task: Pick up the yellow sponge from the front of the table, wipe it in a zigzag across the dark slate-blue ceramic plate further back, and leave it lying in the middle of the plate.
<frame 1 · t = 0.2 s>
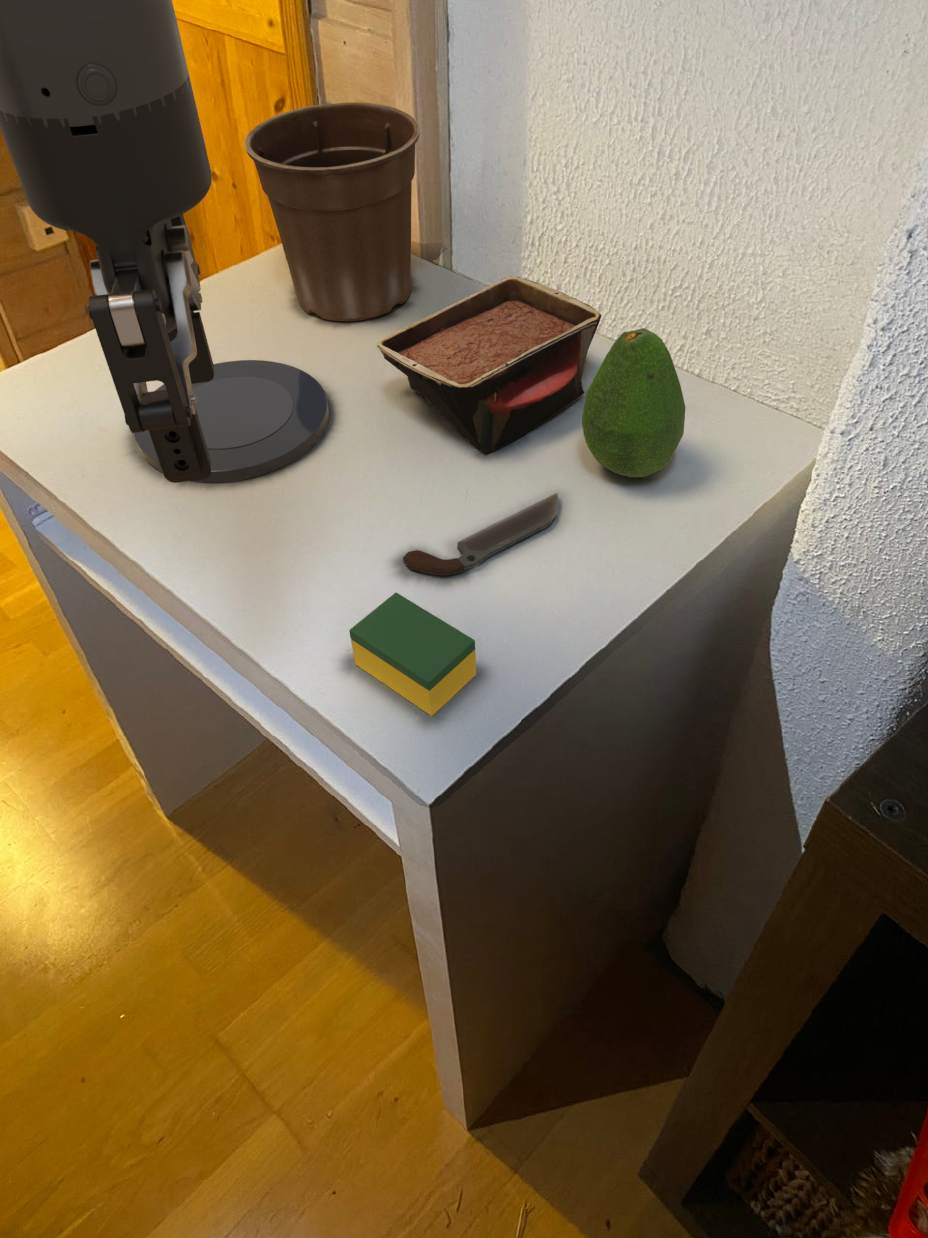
hand: (193, 425, 47), 20 cm above the table, tool pointing down, fingers open, 8 cm apart
baking dish: (493, 401, 84), on the table
plate: (233, 422, 82), on the table
knife: (491, 539, 71), on the table
sponge: (415, 669, 62), on the table
plant pot: (353, 296, 98), on the table
avocado: (626, 469, 76), on the table
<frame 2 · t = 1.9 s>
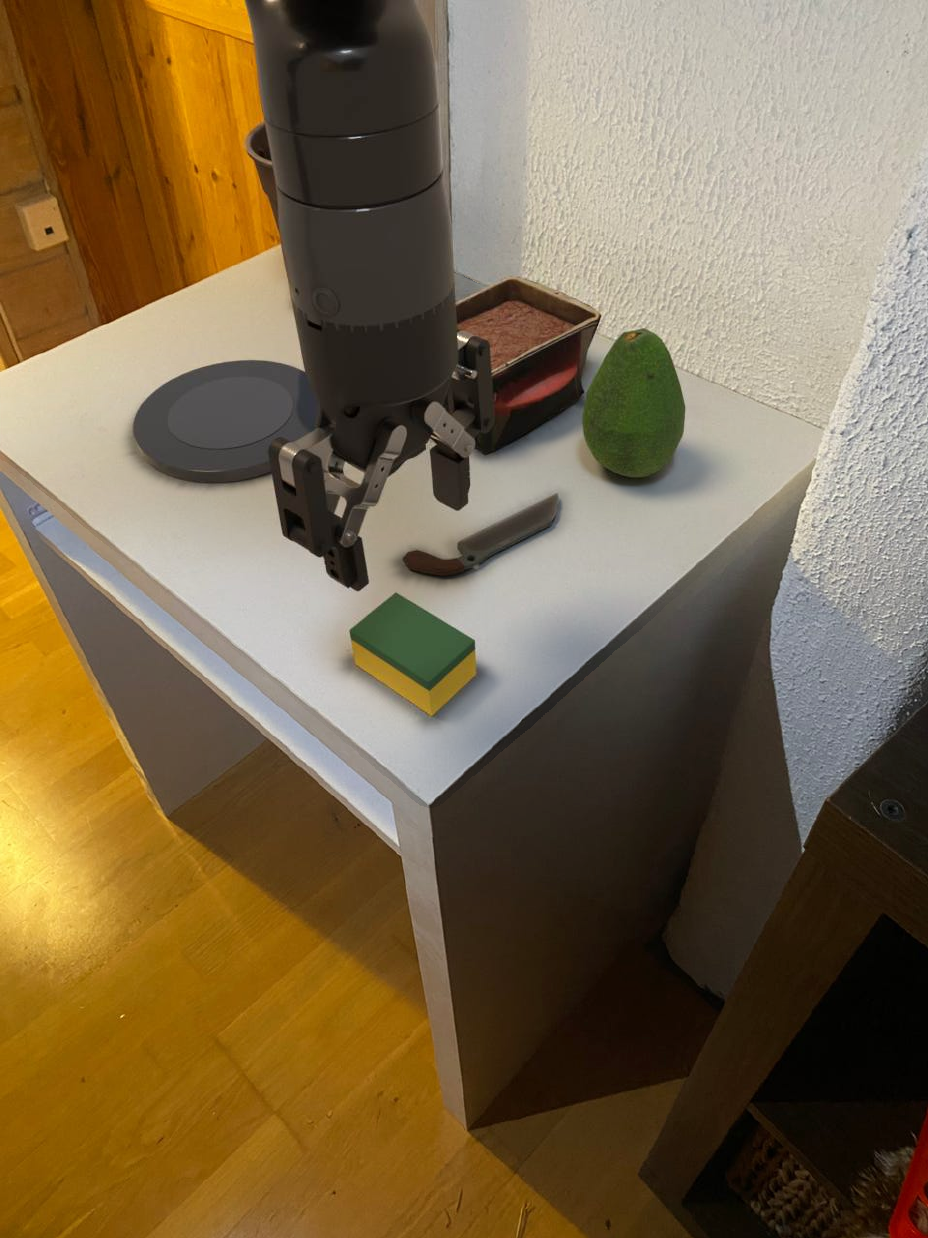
hand: (403, 541, 54), 12 cm above the table, tool pointing down, fingers open, 8 cm apart
nothing on the table moved.
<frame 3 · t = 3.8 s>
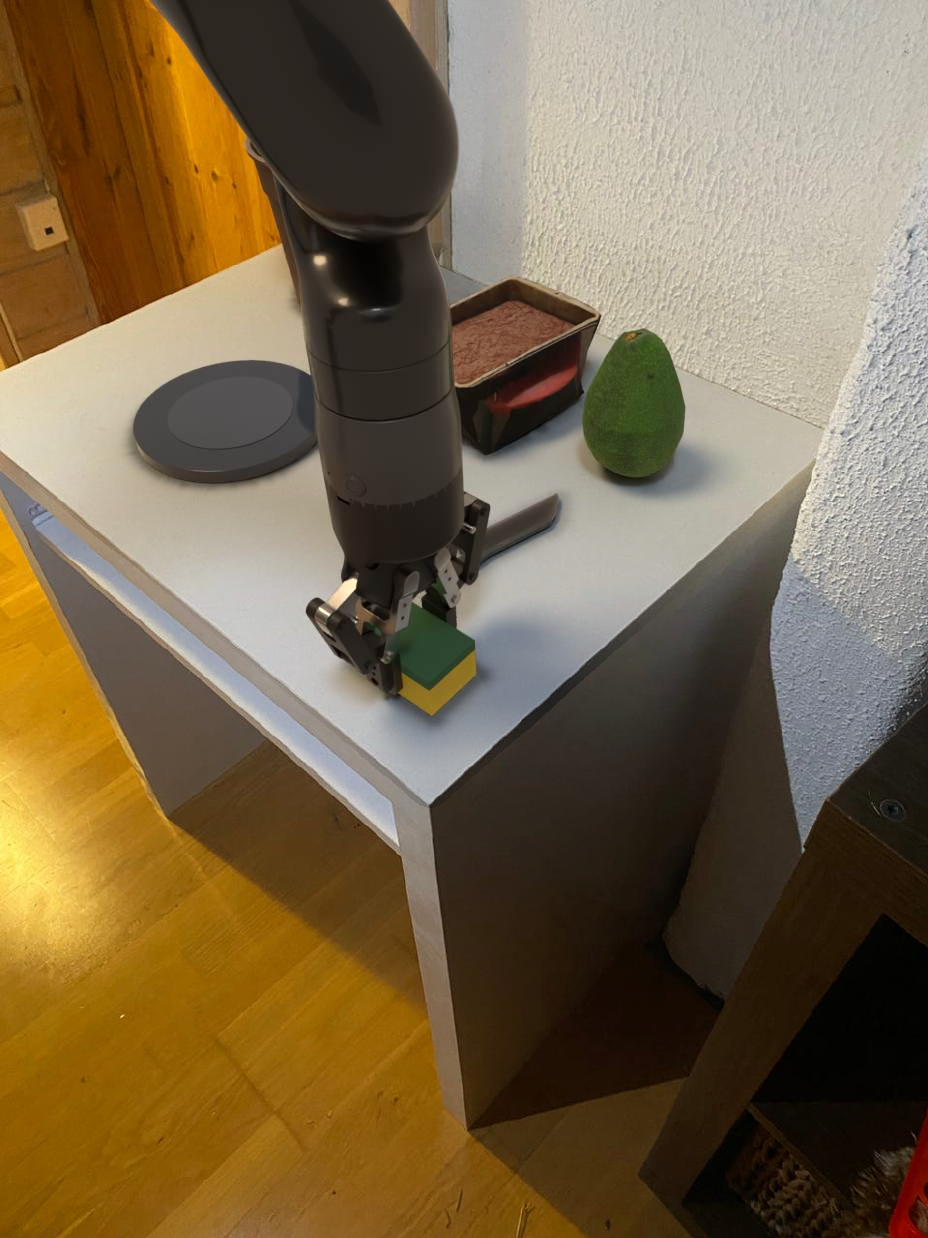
hand: (414, 661, 61), 1 cm above the table, tool pointing down, fingers closed on sponge, 4 cm apart
sponge: (415, 669, 62), on the table, touching gripper
everything else where it was.
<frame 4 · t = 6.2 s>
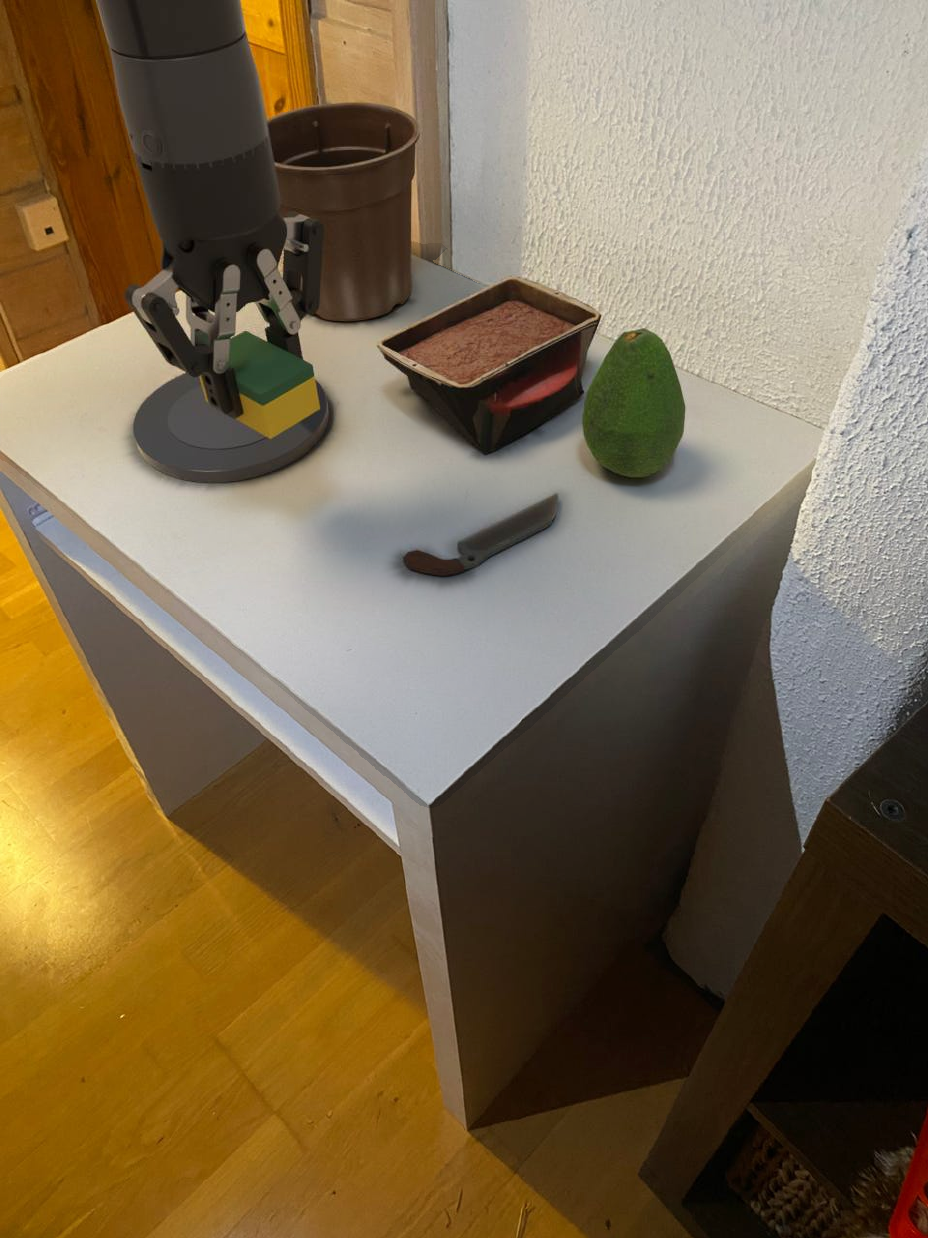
hand: (259, 394, 63), 12 cm above the table, tool pointing down, fingers closed on sponge, 4 cm apart
sponge: (262, 405, 64), point 11 cm above the table, touching gripper
everything else where it was.
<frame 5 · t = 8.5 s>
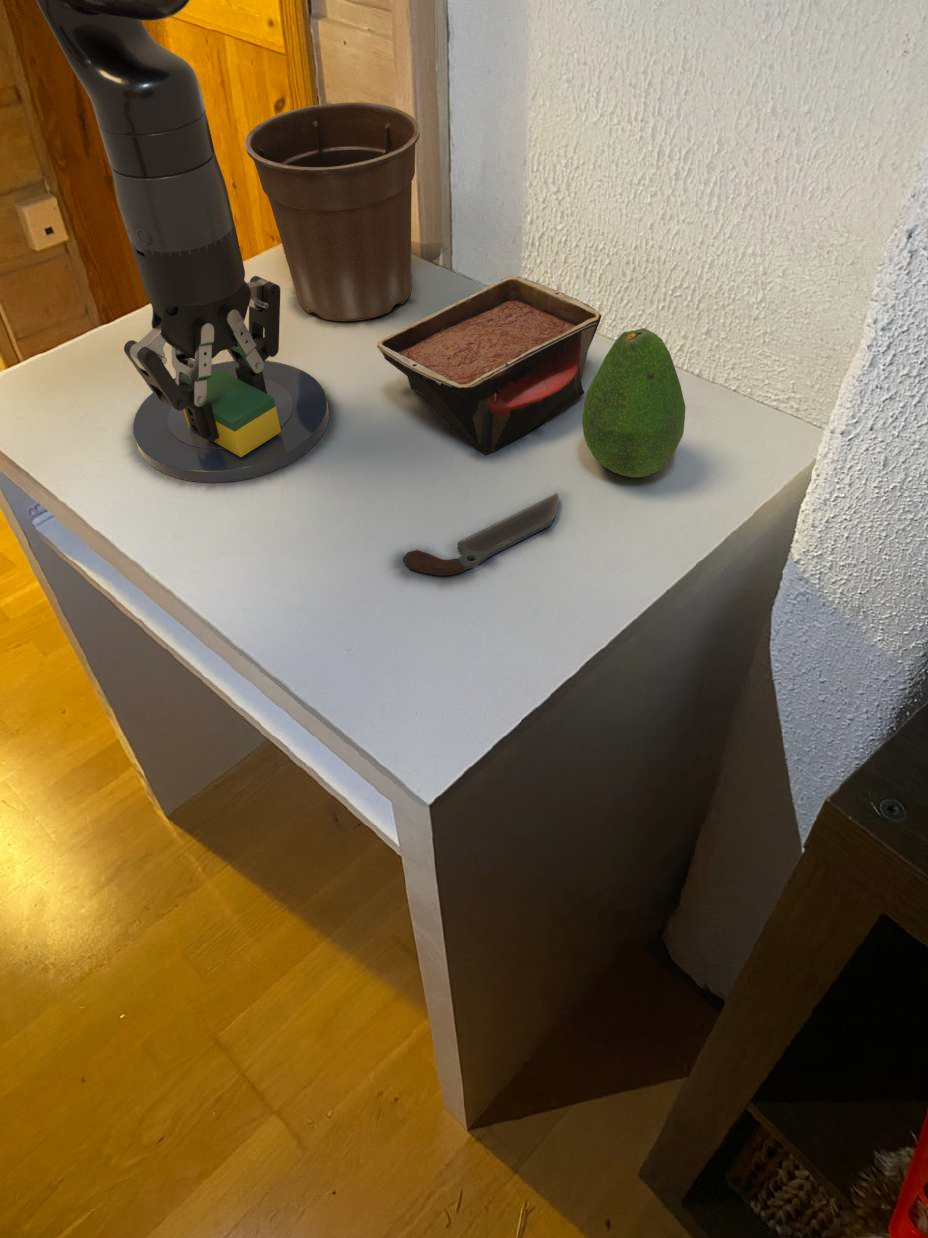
hand: (232, 421, 78), 2 cm above the table, tool pointing down, fingers closed on sponge, 4 cm apart
sponge: (234, 429, 79), point 1 cm above the table, touching gripper
everything else where it was.
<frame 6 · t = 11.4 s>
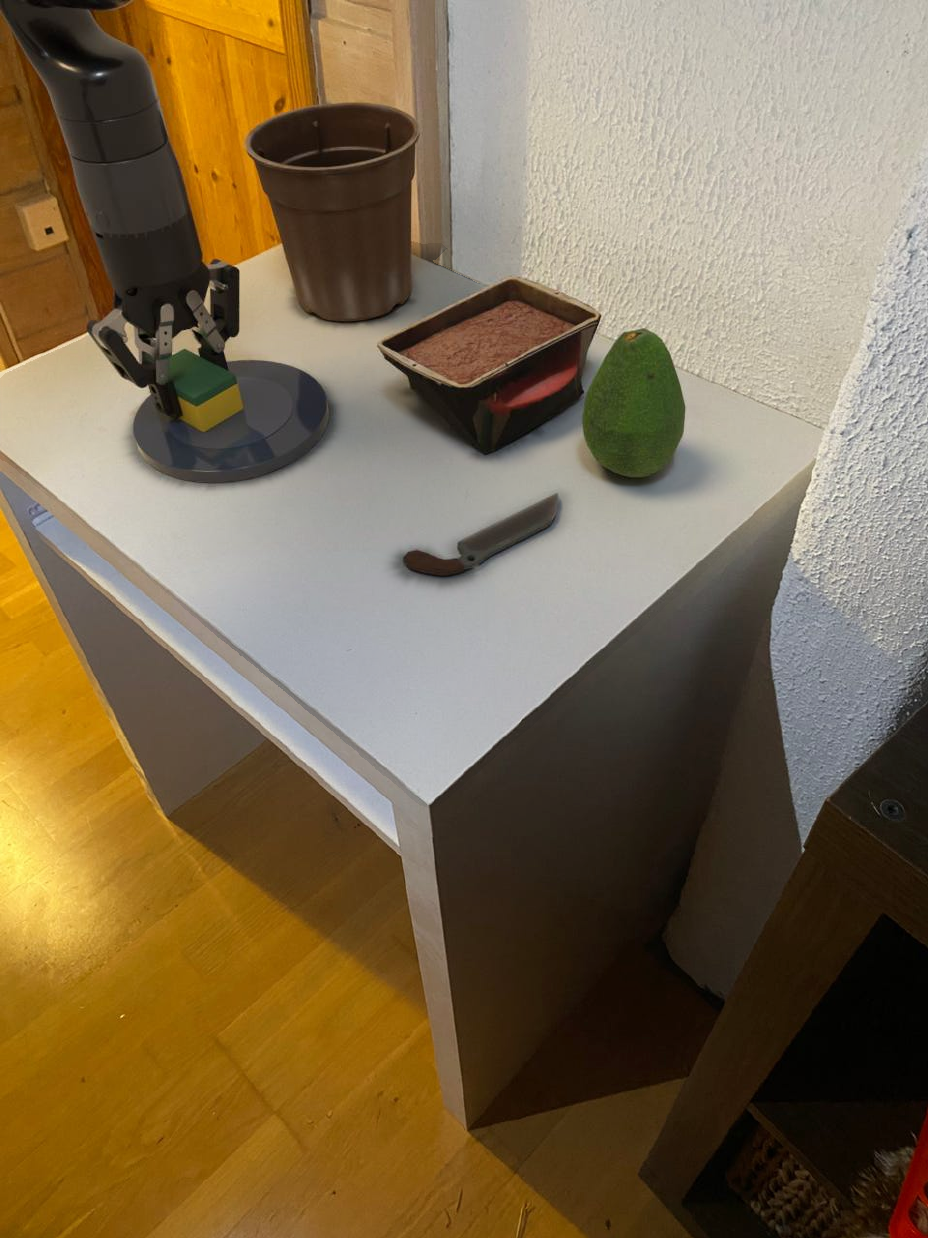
hand: (195, 399, 82), 2 cm above the table, tool pointing down, fingers closed on sponge, 4 cm apart
sponge: (198, 406, 82), point 1 cm above the table, touching gripper
everything else where it was.
when the fingers open (2 cm above the table, at t = 13.4 s): sponge stays where it is, resting on plate.
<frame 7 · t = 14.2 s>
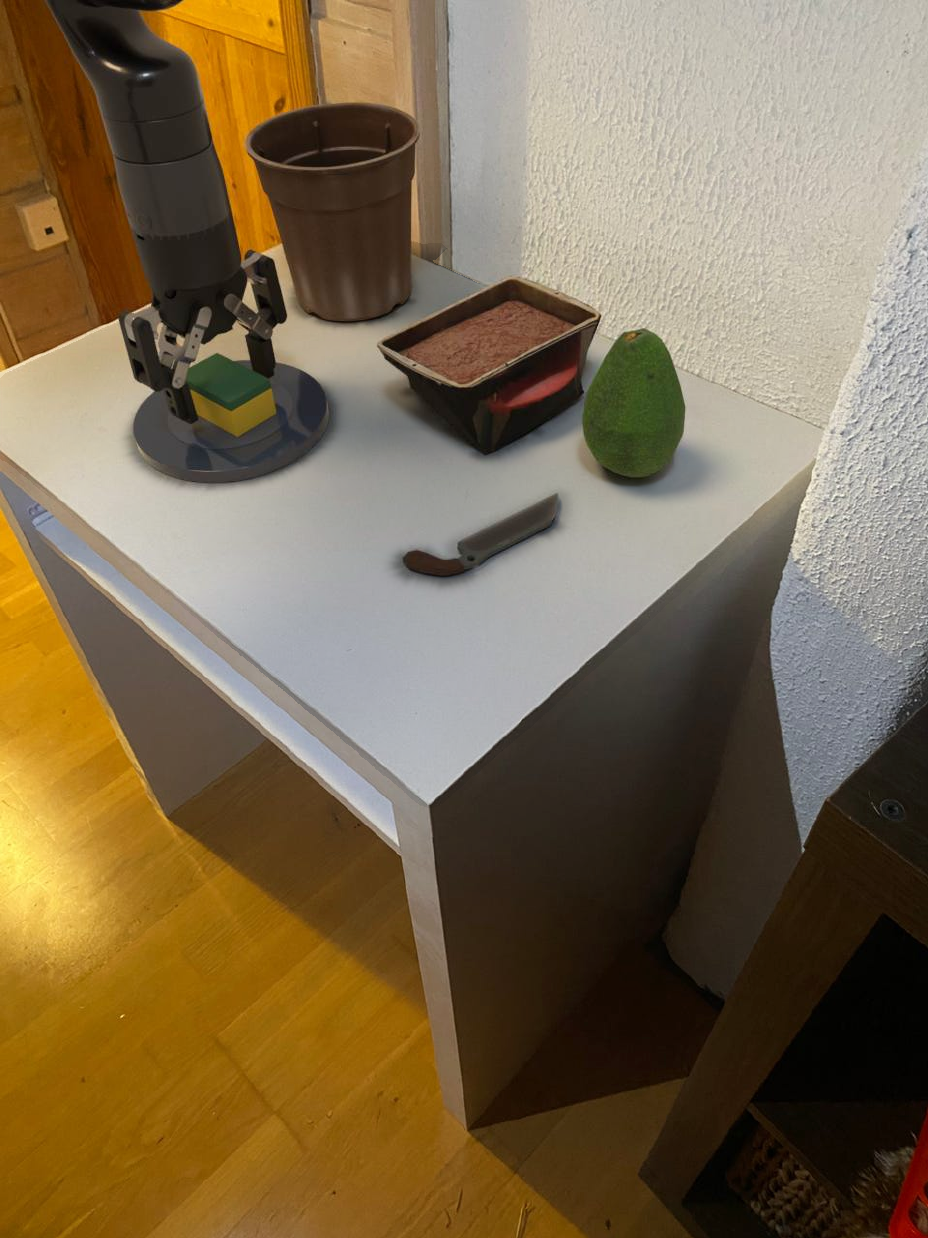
hand: (226, 396, 80), 3 cm above the table, tool pointing down, fingers open, 8 cm apart
sponge: (231, 411, 81), point 1 cm above the table, touching plate
everything else where it was.
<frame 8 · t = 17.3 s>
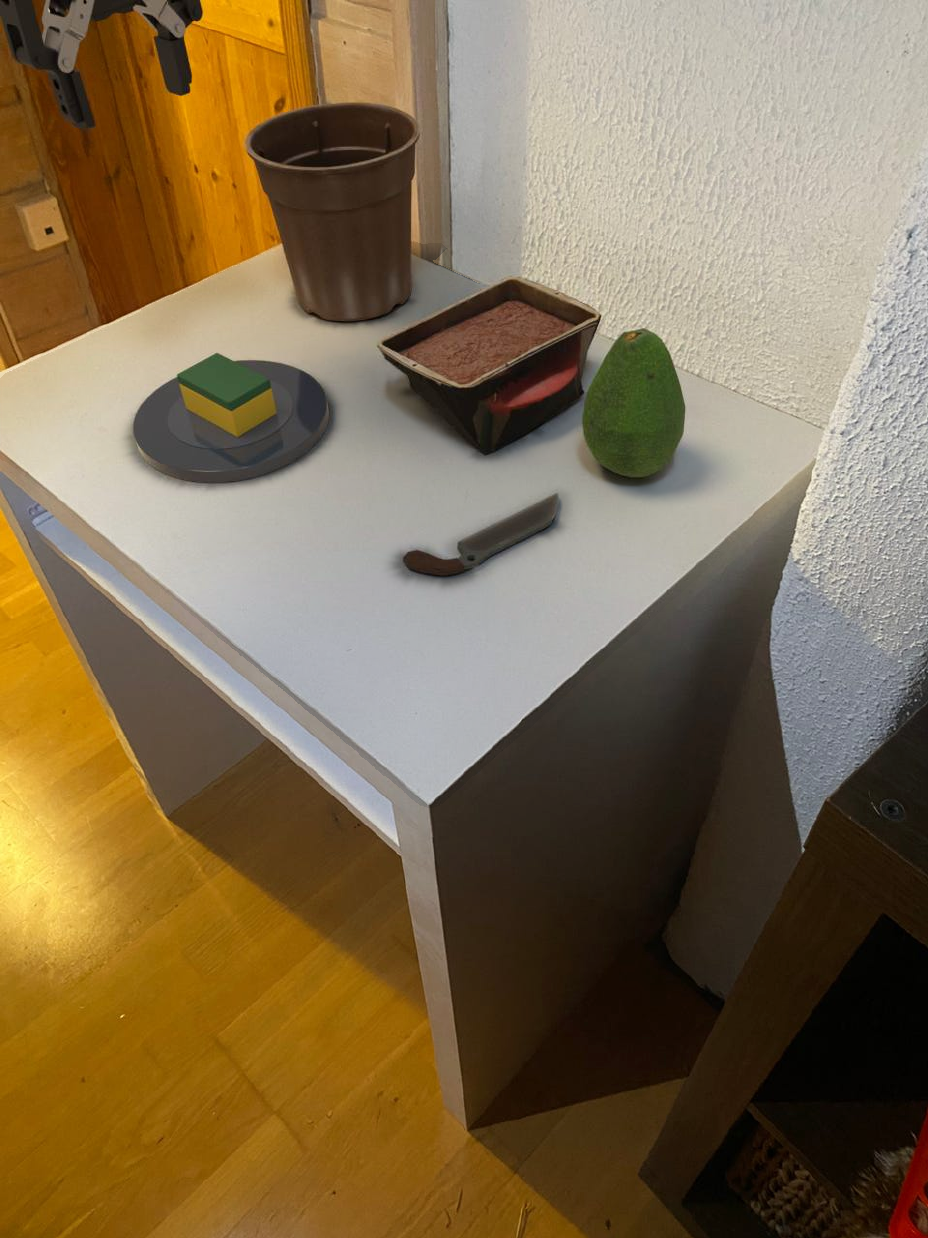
hand: (132, 109, 68), 24 cm above the table, tool pointing down, fingers open, 8 cm apart
nothing on the table moved.
at the end: sponge 0.1 cm off-centre on the plate, point 1.3 cm above the plate's base; the gripper is holding nothing; sponge moved 33.8 cm from its start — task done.
